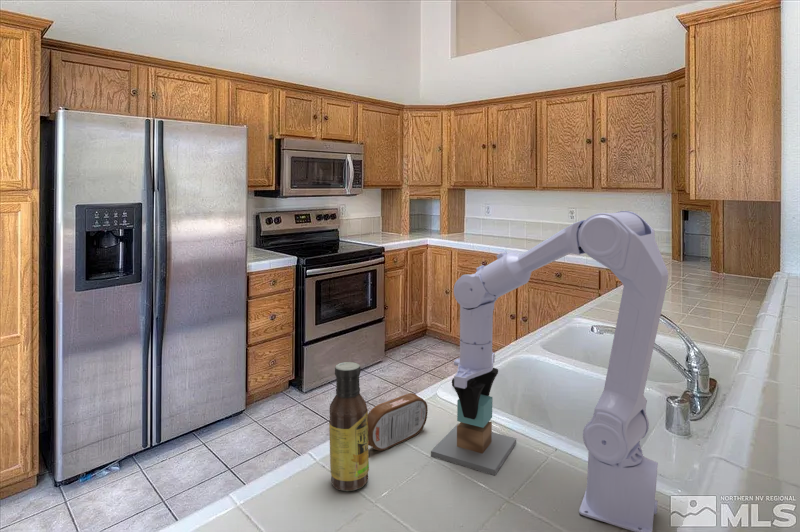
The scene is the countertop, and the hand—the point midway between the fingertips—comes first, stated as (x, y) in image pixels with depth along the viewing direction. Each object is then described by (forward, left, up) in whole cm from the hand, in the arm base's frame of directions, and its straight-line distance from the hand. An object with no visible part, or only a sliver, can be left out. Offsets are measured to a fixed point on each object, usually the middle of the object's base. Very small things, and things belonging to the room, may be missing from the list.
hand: (475, 411), depth 87 cm
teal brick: (0, 0, -2) cm, 2 cm away
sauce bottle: (+14, +19, -8) cm, 25 cm away
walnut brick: (0, 0, -6) cm, 6 cm away
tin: (+14, +4, -8) cm, 17 cm away
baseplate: (0, 0, -7) cm, 7 cm away
